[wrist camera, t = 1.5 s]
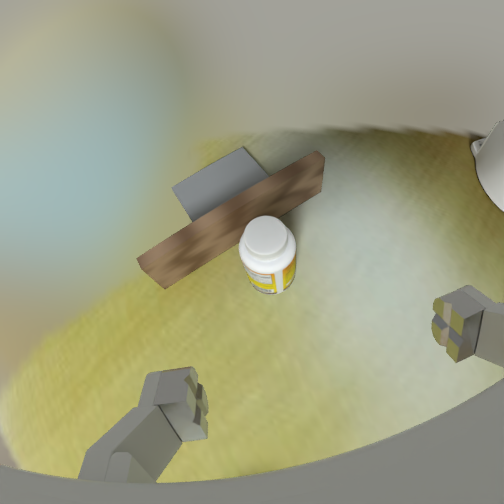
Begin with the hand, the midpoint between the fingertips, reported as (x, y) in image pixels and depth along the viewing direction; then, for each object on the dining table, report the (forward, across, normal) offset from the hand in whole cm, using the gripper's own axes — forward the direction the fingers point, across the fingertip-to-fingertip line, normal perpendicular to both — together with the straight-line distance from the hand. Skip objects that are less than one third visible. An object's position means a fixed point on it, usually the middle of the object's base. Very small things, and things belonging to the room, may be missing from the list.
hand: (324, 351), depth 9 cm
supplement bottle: (+27, 0, +9) cm, 28 cm away
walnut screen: (+31, +2, +5) cm, 31 cm away
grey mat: (+36, +3, -1) cm, 36 cm away
